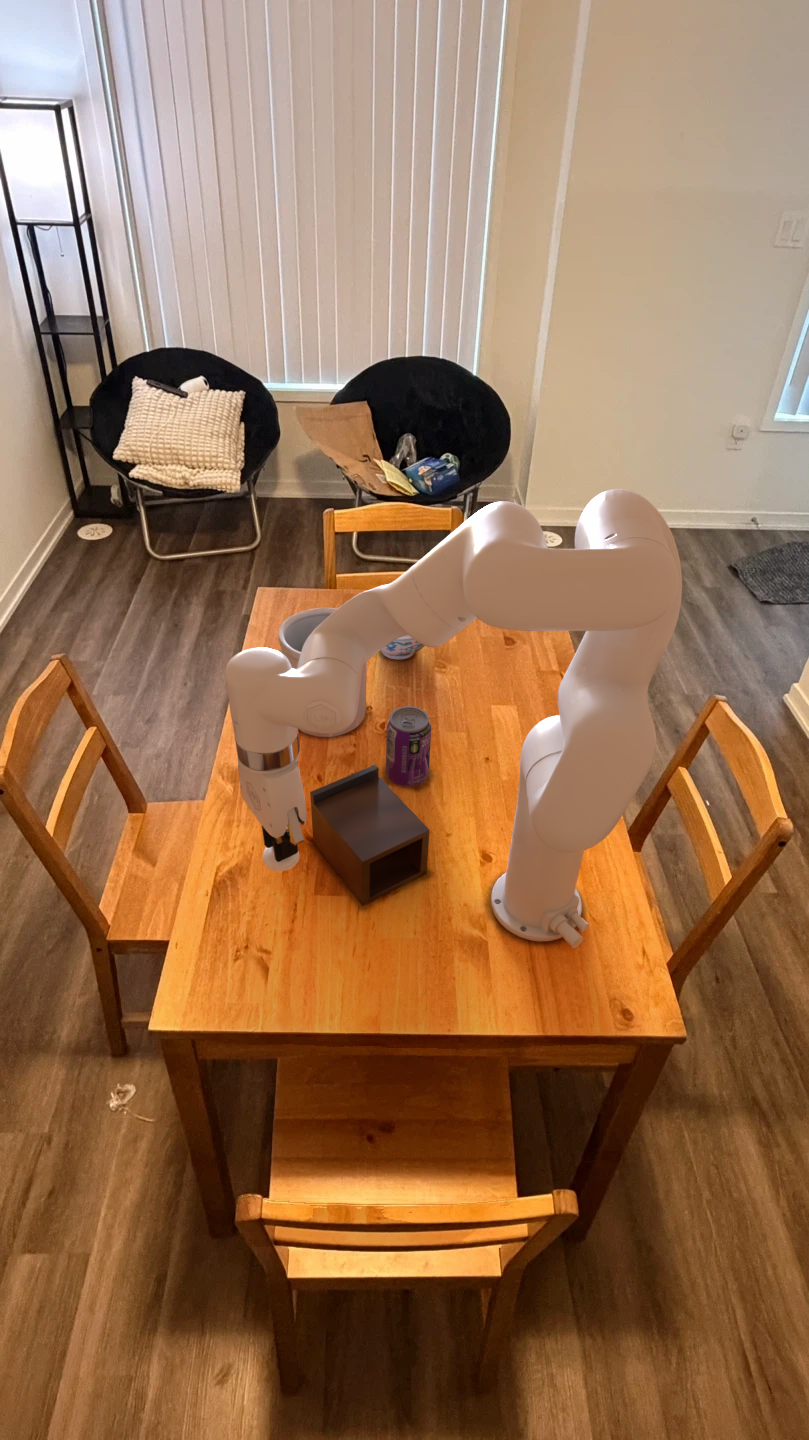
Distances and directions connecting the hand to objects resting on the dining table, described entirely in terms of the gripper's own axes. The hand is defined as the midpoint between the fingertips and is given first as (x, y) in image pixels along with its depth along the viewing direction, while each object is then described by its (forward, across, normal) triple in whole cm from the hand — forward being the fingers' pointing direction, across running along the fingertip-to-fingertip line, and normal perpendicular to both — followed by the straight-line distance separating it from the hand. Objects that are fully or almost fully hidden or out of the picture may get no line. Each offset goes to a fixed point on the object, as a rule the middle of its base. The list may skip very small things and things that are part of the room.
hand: (281, 848), depth 114 cm
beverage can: (+10, -12, +28) cm, 32 cm away
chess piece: (+2, 0, 0) cm, 2 cm away
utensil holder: (+10, -32, +25) cm, 42 cm away
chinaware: (+10, -42, +47) cm, 64 cm away
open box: (+10, 0, +13) cm, 17 cm away
